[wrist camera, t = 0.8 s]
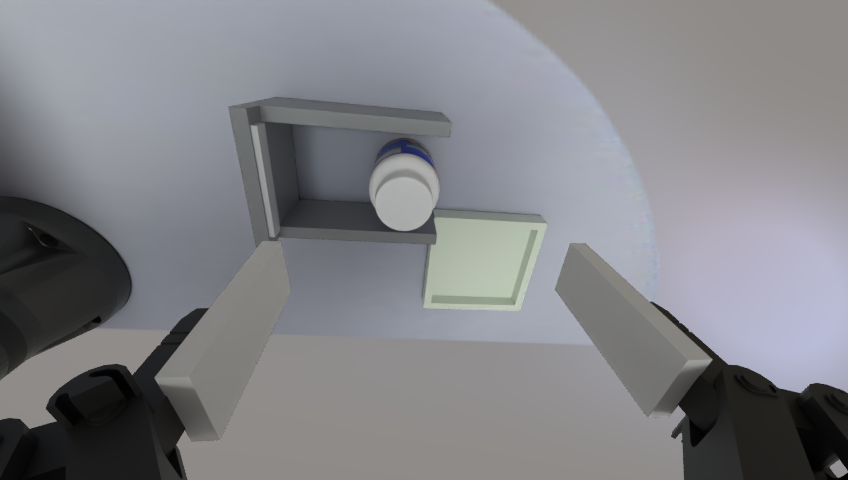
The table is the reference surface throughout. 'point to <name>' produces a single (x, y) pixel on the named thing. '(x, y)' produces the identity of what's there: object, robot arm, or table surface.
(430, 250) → the tray
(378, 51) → the table surface
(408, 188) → the pill bottle
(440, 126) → the bay
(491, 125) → the table surface
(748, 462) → the robot arm
